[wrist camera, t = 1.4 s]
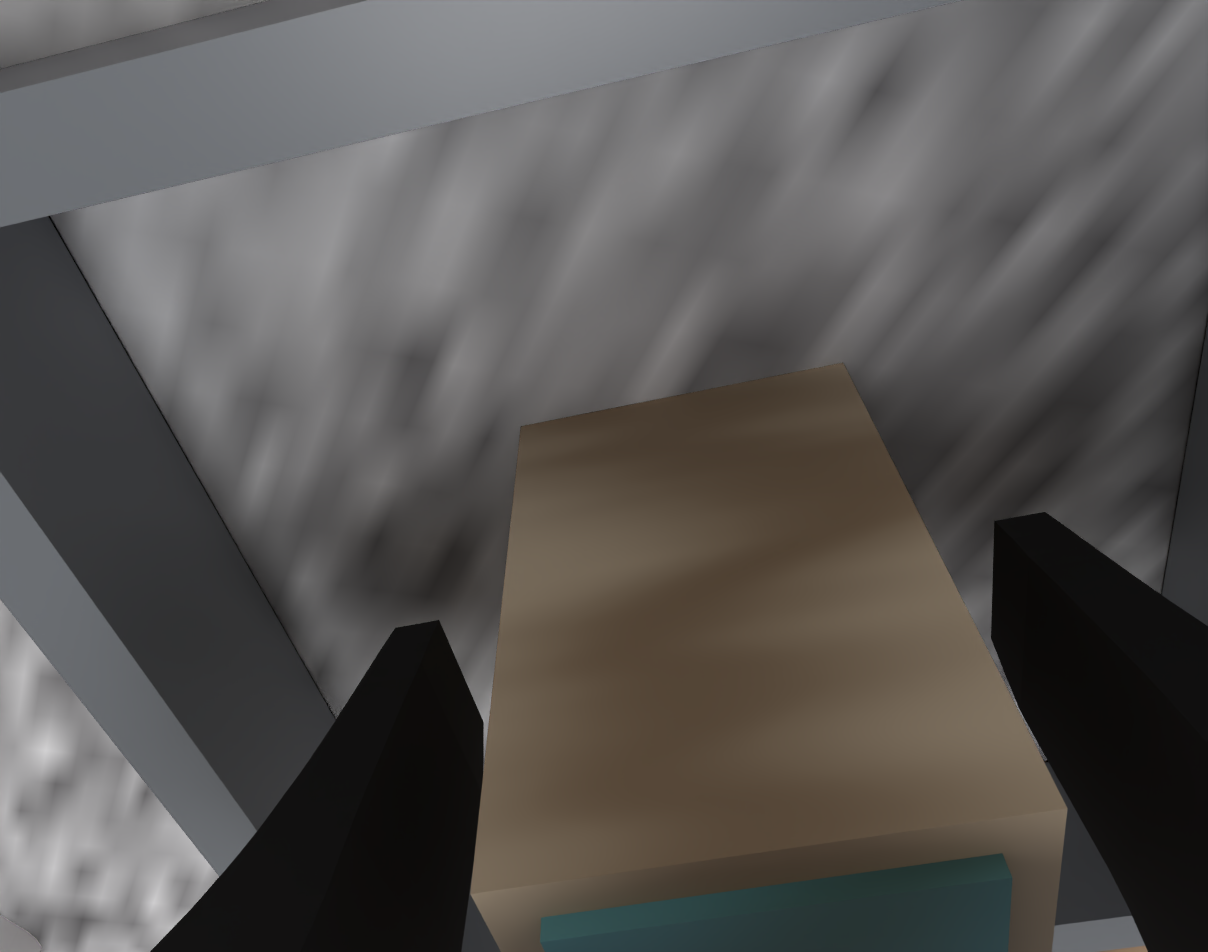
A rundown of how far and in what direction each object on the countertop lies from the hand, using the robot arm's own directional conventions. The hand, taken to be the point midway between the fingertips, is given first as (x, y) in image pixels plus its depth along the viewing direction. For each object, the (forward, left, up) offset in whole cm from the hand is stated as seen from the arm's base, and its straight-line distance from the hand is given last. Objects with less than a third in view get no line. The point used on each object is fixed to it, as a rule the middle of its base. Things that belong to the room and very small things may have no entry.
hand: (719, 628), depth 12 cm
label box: (0, 0, -2) cm, 2 cm away
